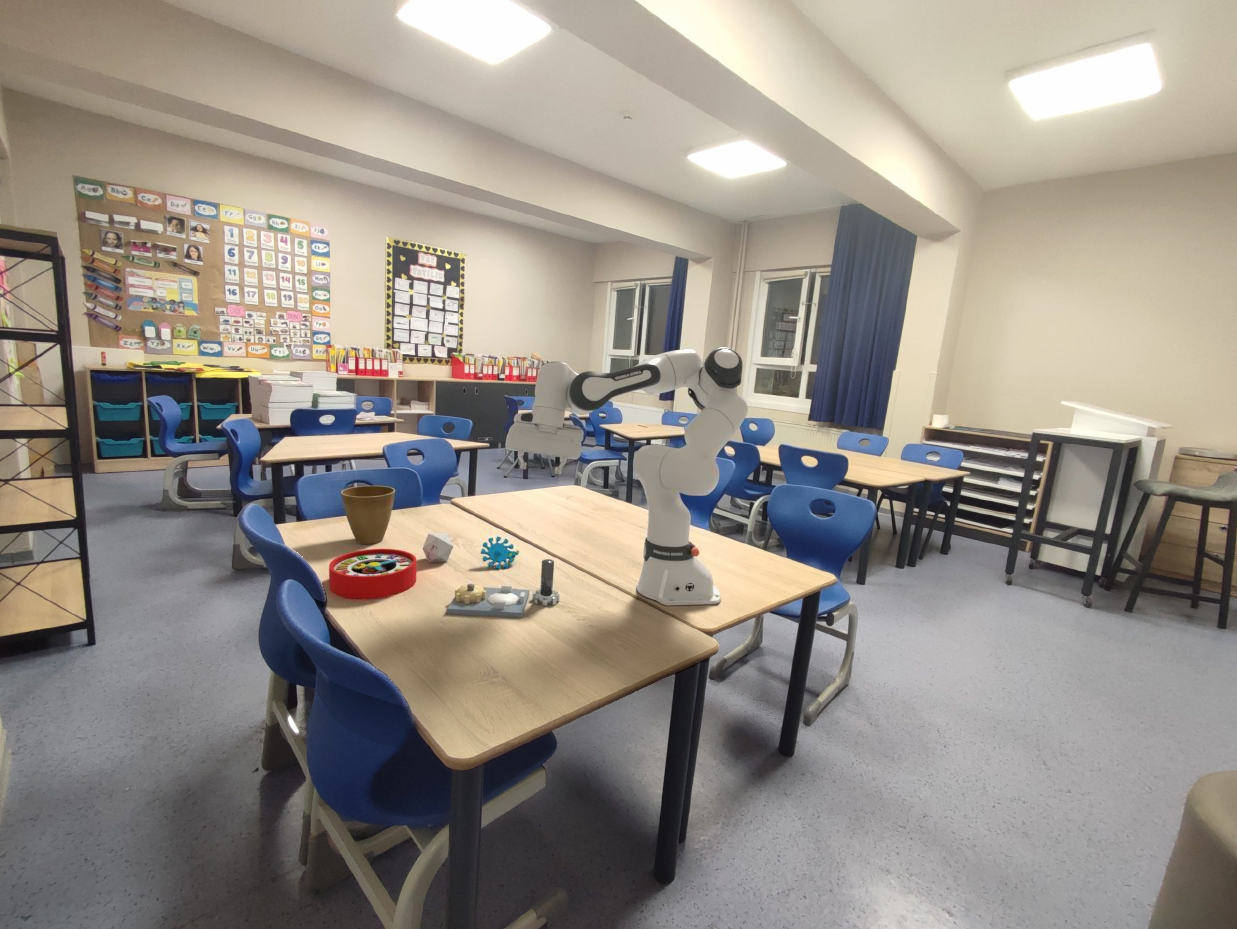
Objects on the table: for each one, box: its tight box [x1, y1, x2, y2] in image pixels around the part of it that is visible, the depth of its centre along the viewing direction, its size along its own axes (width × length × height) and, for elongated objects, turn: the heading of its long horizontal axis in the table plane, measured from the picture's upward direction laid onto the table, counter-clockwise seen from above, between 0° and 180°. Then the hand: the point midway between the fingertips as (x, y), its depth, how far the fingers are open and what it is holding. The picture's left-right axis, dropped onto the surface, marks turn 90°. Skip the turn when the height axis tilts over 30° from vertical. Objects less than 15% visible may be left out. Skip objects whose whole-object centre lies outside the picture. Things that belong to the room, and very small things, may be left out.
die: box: [422, 532, 454, 563], centre depth 152 cm, size 8×9×10 cm
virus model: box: [480, 535, 520, 570], centre depth 153 cm, size 11×6×10 cm
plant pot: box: [340, 485, 396, 545], centre depth 163 cm, size 15×15×16 cm
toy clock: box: [328, 548, 417, 601], centre depth 133 cm, size 20×6×20 cm
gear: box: [532, 558, 561, 607], centre depth 130 cm, size 7×7×10 cm
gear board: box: [446, 583, 531, 619], centre depth 127 cm, size 17×13×4 cm
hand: (540, 471), depth 142 cm, fingers open, 8 cm apart
